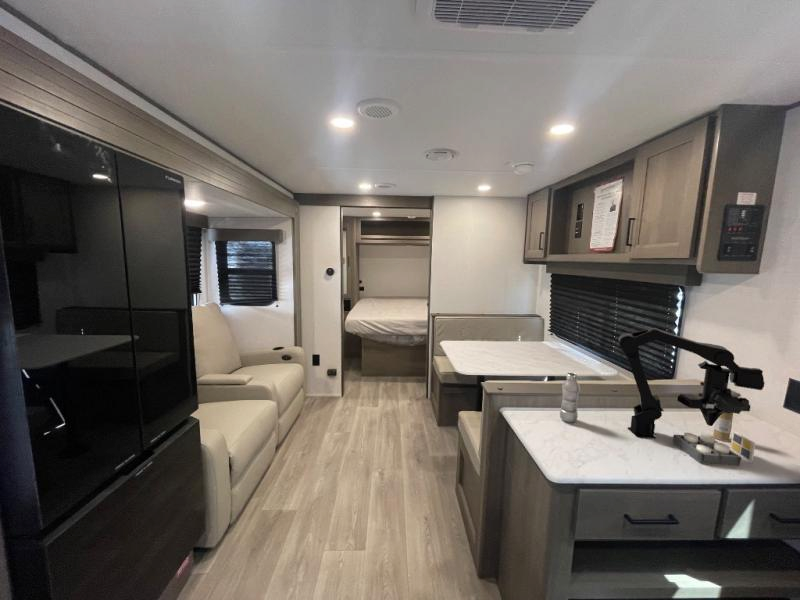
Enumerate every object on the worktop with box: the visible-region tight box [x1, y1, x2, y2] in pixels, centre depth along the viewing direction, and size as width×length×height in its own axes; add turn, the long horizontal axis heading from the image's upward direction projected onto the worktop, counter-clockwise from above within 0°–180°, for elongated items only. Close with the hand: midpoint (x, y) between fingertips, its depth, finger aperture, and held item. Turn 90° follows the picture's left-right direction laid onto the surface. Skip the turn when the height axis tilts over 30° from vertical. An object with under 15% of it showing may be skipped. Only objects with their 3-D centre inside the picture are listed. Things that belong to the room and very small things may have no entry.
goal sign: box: [729, 431, 757, 464], centre depth 105 cm, size 1×7×7 cm, turn 174°
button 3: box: [699, 433, 716, 445], centre depth 109 cm, size 4×4×2 cm
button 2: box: [696, 445, 711, 453], centre depth 104 cm, size 4×4×2 cm
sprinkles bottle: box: [712, 413, 734, 442], centre depth 115 cm, size 5×5×14 cm
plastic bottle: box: [559, 372, 581, 423], centre depth 127 cm, size 6×7×20 cm
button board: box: [672, 434, 742, 467], centre depth 107 cm, size 12×12×3 cm
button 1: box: [683, 432, 699, 444], centre depth 109 cm, size 4×4×2 cm
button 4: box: [713, 441, 731, 455], centre depth 103 cm, size 4×4×2 cm
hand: (709, 425), depth 108 cm, fingers closed
